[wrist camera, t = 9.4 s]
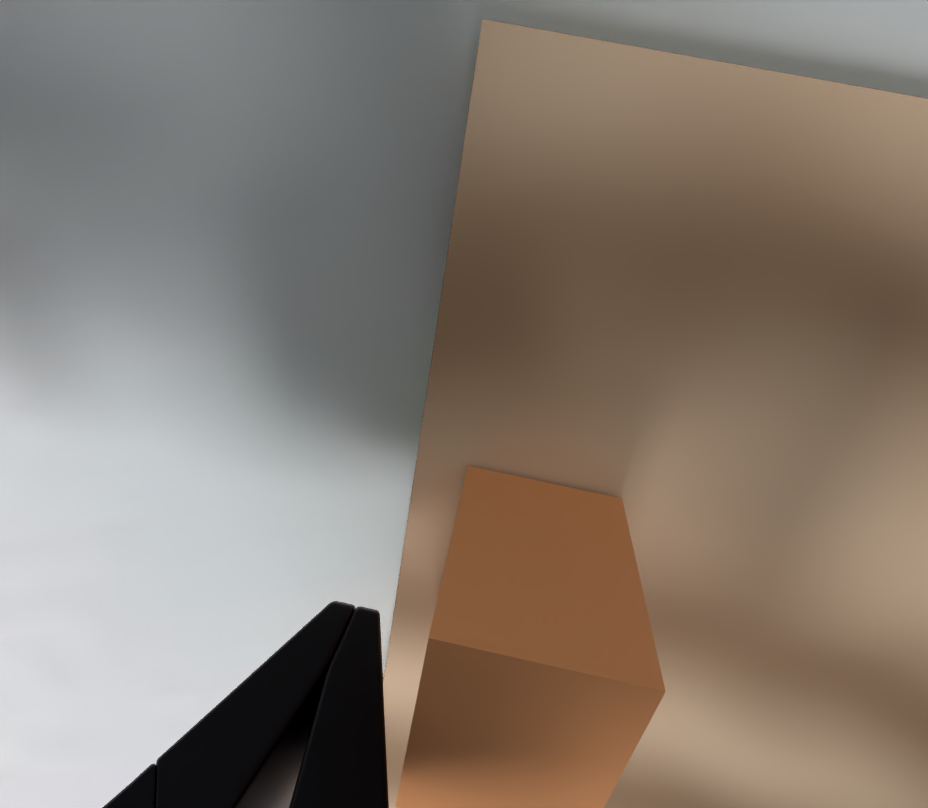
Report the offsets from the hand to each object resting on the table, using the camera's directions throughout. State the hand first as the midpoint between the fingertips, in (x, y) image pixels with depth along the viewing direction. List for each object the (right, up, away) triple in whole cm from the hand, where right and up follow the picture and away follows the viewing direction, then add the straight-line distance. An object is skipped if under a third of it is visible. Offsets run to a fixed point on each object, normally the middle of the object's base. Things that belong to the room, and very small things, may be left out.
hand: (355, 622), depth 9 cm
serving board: (+9, -2, +4) cm, 10 cm away
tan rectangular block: (+3, +1, +2) cm, 4 cm away
